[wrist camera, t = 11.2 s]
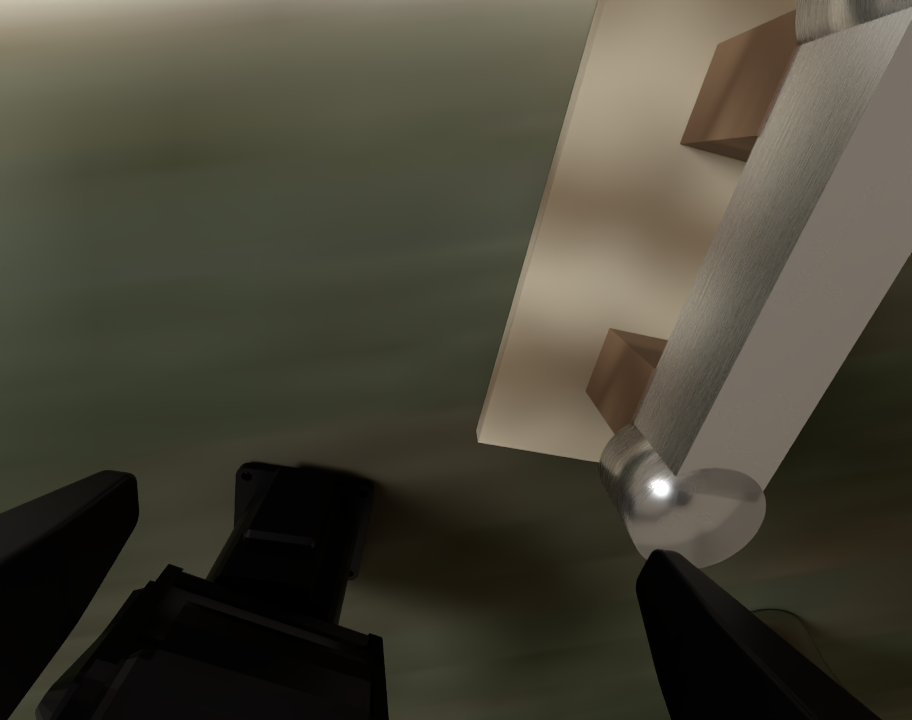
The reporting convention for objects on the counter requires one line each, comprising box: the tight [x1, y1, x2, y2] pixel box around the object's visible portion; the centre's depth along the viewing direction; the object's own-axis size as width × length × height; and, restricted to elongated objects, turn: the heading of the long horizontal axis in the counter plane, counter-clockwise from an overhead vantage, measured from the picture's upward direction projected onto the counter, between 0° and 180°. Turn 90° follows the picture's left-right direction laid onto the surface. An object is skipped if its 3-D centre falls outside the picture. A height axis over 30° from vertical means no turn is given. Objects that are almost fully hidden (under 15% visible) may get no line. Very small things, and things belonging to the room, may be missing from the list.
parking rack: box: [476, 0, 798, 462], centre depth 16 cm, size 20×11×5 cm, turn 167°
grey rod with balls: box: [599, 0, 912, 569], centre depth 12 cm, size 18×4×3 cm, turn 167°
